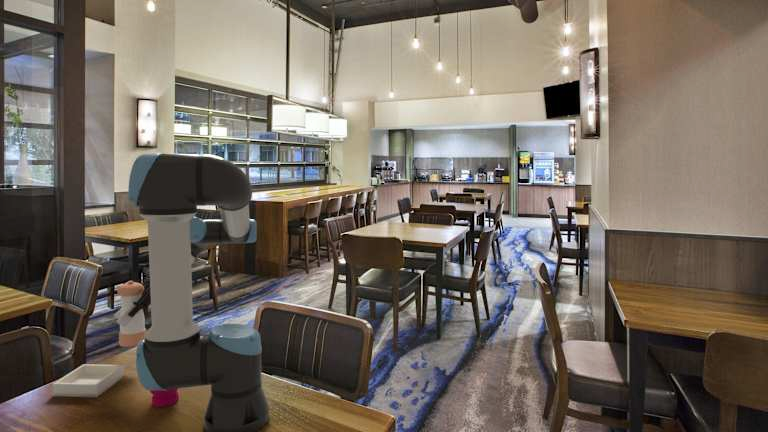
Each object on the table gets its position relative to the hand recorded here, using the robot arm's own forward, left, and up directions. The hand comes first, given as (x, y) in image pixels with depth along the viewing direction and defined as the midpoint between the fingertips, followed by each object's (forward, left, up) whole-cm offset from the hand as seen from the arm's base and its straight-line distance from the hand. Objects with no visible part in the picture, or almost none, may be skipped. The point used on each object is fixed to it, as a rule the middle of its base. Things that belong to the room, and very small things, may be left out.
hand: (118, 321), depth 130 cm
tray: (-9, +3, -16) cm, 18 cm away
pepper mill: (-16, -22, -16) cm, 32 cm away
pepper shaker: (+2, -3, -8) cm, 8 cm away
